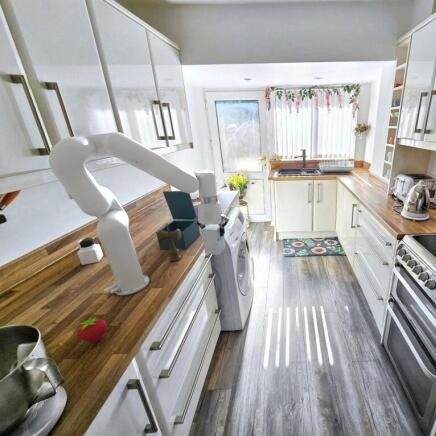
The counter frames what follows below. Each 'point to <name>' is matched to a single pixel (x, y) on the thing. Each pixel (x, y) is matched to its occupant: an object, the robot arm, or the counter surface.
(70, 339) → the counter surface
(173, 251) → the kendama
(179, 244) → the teal rectangular box
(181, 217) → the dark teal box lid
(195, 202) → the bowl of food
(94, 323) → the strawberry
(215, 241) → the white packaging box
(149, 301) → the counter surface
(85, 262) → the medicine bottle
